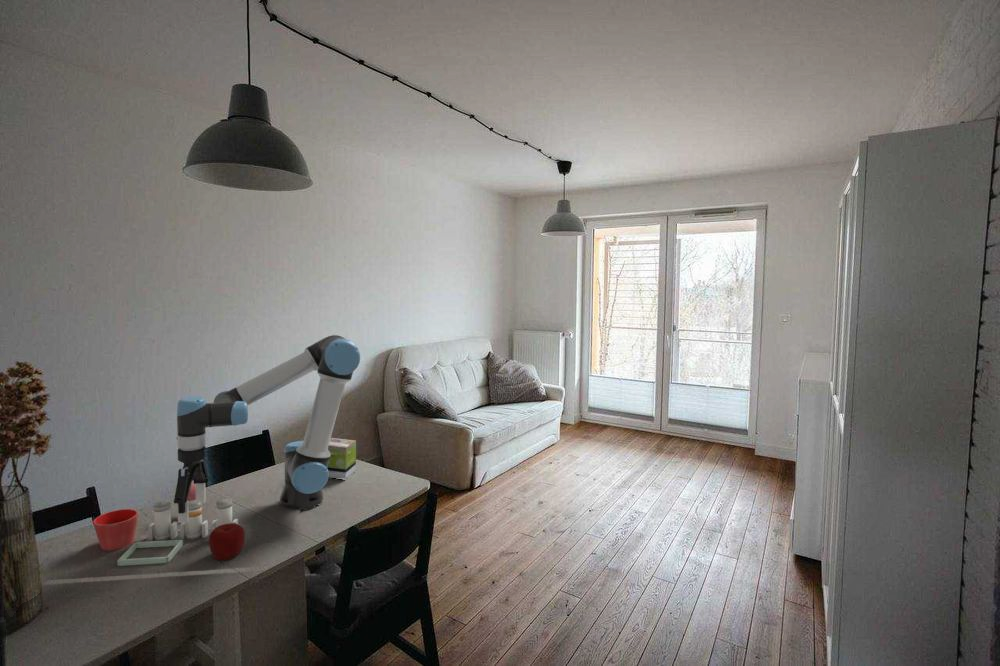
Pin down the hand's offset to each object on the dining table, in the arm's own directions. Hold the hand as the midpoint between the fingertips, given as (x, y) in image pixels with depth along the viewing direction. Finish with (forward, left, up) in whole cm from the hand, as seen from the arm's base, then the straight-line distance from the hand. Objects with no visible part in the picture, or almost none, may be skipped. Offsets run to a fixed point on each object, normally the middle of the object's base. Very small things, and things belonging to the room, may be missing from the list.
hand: (192, 512), depth 162 cm
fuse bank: (0, 0, -9) cm, 9 cm away
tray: (+8, +10, -9) cm, 15 cm away
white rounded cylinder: (-9, 0, -8) cm, 12 cm away
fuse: (+9, 0, -8) cm, 12 cm away
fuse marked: (0, 0, -8) cm, 8 cm away
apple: (-14, +12, -9) cm, 21 cm away
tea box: (-37, -50, -9) cm, 63 cm away
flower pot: (+21, +2, -9) cm, 23 cm away
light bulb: (+6, -15, -9) cm, 19 cm away
